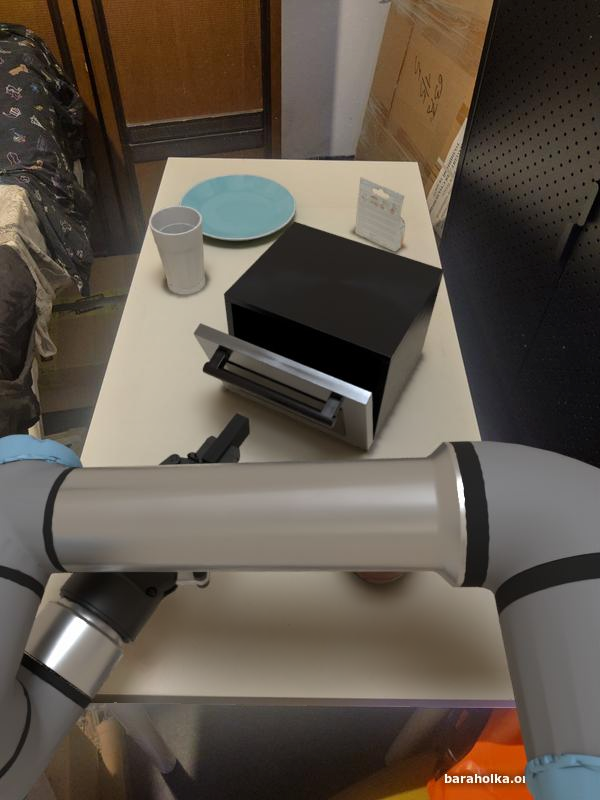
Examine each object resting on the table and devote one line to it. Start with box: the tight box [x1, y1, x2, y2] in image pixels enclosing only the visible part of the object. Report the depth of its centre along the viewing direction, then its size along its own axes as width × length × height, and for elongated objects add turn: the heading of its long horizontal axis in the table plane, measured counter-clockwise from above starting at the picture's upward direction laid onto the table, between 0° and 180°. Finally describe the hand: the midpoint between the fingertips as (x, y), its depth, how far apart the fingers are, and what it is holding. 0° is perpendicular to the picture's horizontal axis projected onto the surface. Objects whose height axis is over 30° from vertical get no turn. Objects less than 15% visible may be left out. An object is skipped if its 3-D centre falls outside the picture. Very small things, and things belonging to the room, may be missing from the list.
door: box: [193, 322, 374, 452], centre depth 67 cm, size 5×22×16 cm, turn 62°
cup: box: [148, 205, 206, 295], centre depth 88 cm, size 8×8×12 cm
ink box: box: [354, 177, 406, 253], centre depth 97 cm, size 3×9×12 cm, turn 50°
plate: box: [178, 173, 297, 242], centre depth 105 cm, size 22×22×3 cm
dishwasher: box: [223, 221, 445, 442], centre depth 75 cm, size 18×22×16 cm
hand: (243, 423), depth 59 cm, fingers closed
